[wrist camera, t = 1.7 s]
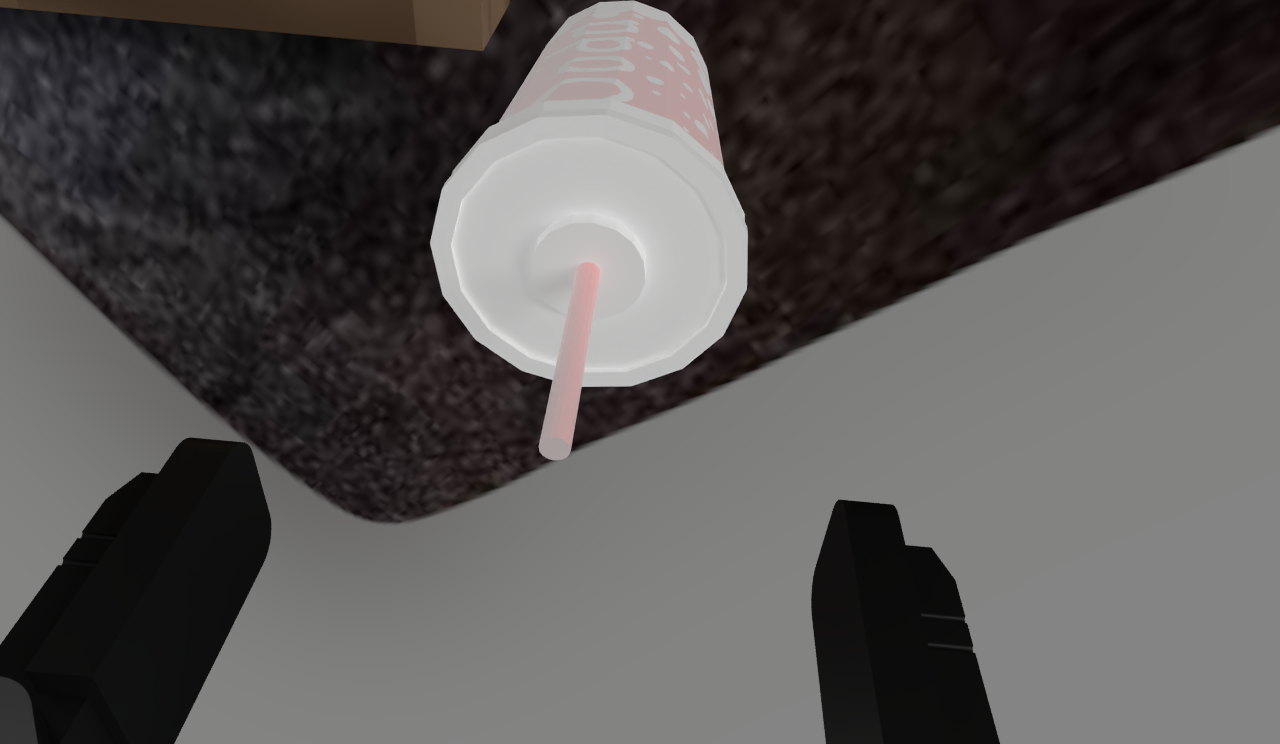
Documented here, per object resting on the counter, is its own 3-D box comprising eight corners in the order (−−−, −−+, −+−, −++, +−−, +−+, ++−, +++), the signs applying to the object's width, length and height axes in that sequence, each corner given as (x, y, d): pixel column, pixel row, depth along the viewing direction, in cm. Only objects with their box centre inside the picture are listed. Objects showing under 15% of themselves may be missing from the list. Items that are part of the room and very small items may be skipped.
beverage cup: (759, -13, 22) (810, 310, 11) (714, 204, 26) (719, 600, 15) (515, -51, 22) (328, 241, 11) (506, 174, 26) (360, 553, 15)
